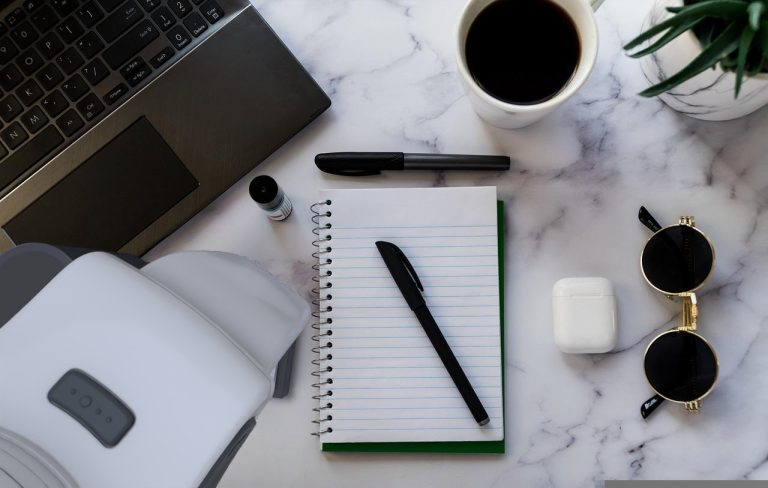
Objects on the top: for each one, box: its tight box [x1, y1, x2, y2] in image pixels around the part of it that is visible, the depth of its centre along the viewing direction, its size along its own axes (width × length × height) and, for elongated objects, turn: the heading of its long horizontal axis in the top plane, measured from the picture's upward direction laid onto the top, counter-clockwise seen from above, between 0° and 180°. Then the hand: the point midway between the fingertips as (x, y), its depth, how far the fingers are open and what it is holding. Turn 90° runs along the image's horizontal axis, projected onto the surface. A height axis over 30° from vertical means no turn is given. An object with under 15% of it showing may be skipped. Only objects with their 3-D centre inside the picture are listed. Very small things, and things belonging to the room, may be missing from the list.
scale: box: [270, 338, 297, 400], centre depth 66 cm, size 7×7×3 cm
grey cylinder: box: [0, 242, 148, 328], centre depth 41 cm, size 6×6×10 cm
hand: (177, 455), depth 30 cm, fingers open, 8 cm apart
